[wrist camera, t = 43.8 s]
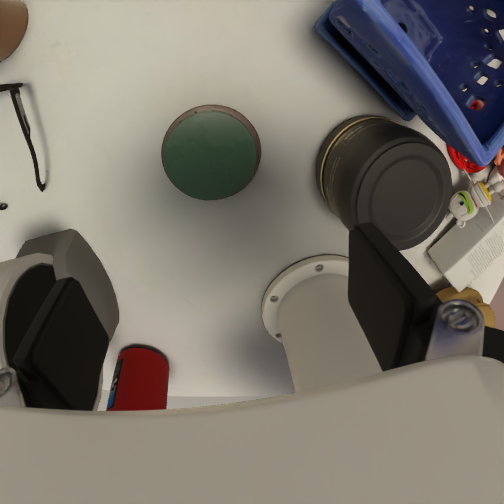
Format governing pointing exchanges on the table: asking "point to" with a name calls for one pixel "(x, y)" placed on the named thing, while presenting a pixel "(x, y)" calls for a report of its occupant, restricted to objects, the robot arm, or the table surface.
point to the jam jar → (11, 26)
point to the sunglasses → (25, 127)
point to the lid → (210, 155)
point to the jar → (385, 179)
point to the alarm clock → (42, 281)
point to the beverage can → (139, 381)
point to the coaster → (225, 109)
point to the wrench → (498, 175)
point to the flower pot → (429, 63)
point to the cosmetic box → (471, 245)
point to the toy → (473, 199)
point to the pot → (469, 296)
